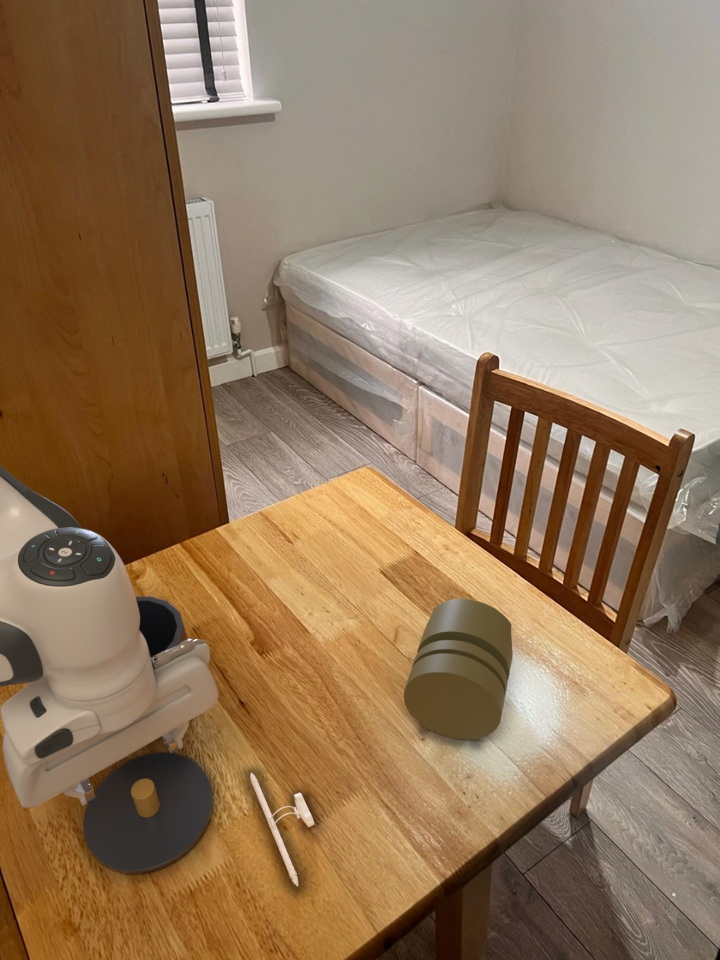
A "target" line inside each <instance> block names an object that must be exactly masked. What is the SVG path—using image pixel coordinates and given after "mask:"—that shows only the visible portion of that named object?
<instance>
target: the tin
mask: <svg viewBox="0 0 720 960" xmlns="http://www.w3.org/2000/svg"><path fill="white" fill-rule="evenodd" d="M135 597H136V601H137V605H138V609H139V614H140V626H139V631H140V632H141V633H142V634H143V636H144V638H145V640H146V643H147V645H148V650H149V654H150V657H152V656H154V655H156V654H158V653H160V652H162V651H165V650H167V649H170V648H172V647H175V646H176V645H178V644H179V643H180V642H182V641H184V640H187V639H188V638H187V633H186V629H185V625H184V620H183V618H182V614H181V612H180V610H178V608H176V606H174V605H173V604H172V603H171V602H169V600H164V599H162V598H159V597H155V596H151V595H148V596H147V595H145V596H135Z"/></svg>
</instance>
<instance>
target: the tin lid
mask: <svg viewBox="0 0 720 960" xmlns="http://www.w3.org/2000/svg"><path fill="white" fill-rule="evenodd" d="M94 792H95V795H96V797H97V798H95V799H94V800H92V801H90V802H88V803H87V804H86V805H87V806H86V808H85V812H84V815H83V824H82V825H83V835H84V840H85V843H86V845H87V846H86V847H87V848H88V850H89V852H90V854H91V855H92V856H93V858H95V860H96V861H97V862H99V863H100V864H101V865H102V866H105V868H107V869H110V870H112V871H114V872H118V873H123V874H133V875H134V874H144V873H149V872H153V871H156V870H159V869H162V868H165V867H167V866H169V865H171V864H172V863H174V862H176V861H177V860H179V859H180V858H181V857H183V856H184V855H185V854H186V853H188V851H189V850H191V849H192V848H193V847H194V845H195V844H196V843H197V842H198V841H199V840H200V838H201V836H202V835H203V833H204V832H205V831H206V828H207V826H208V824H209V822H210V819H211V817H212V816H211V815H212V812H213V805H214V804H213V803H214V796H213V794H214V793H213V789H212V784H211V782H210V778H209V777H208V775H207V773H206V772H205V770H204V769H203V768H202V767H201V766H200V765H199V764H198V763H197V762H196V761H194V760H193V759H191V758H189V757H187V756H185V755H182V754H179V753H176V752H174V753H172V754H170V753H169V752H164V751H163V752H153V753H147V754H144V755H140V756H137V757H135V758H131V759H130V760H128V761H126V762H124V763H122V764H121V765H119V766H118V767H116V768H115V769H114V770H112V771H111V772H110V773H109V774H107V776H106V777H105V778H104V779H103V780H102V781H101V782H100V783H99V784H98V786H97V787H96V788H95V789H94Z"/></svg>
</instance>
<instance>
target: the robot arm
mask: <svg viewBox="0 0 720 960" xmlns="http://www.w3.org/2000/svg"><path fill="white" fill-rule="evenodd" d="M132 584H133V583H132V581H131V579H130V575H129V573H128V571H127V569H126V565H125V564H124V562H123V560H122V558H121V557H120V555H119V554H118V552H117V550H116V549H115V548H114V546H112V545H111V543H110V542H109V541H108V540H107V539H105V538H104V537H103V536H102V535H100V534H99V533H97V532H94V531H93V530H89V529H86V528H82V526H81V525H80V523H79V522H78V520H77V519H76V518H75V517H74V516H73V515H72V514H71V513H70V512H69V511H67V510H66V509H65V508H63V507H62V506H60V505H58V504H57V503H55V502H54V501H52V500H50V499H48V498H47V497H45V496H43V495H41V494H39V493H37V492H36V491H34V490H32V489H31V488H30V487H28V486H27V485H26V484H24V483H23V482H21V481H20V480H18V479H17V478H16V477H15V476H14V475H12V474H11V473H10V472H9V471H7V470H6V469H5V468H4V467H2V466H1V465H0V687H7V686H14V685H21V684H23V685H24V684H27V685H25V686H24V687H23V688H21V689H20V690H19V691H18V692H16V693H15V694H13V695H12V696H11V697H10V698H8V699H7V700H6V701H5V702H4V703H3V704H1V706H0V717H1V721H2V724H3V727H4V731H5V733H4V735H3V736H4V737H3V741H2V751H3V758H4V763H5V767H6V770H7V773H8V777H9V779H10V782H11V785H12V787H13V790H14V793H15V795H16V796H17V799H18V801H19V803H20V806H21V807H22V808H26V809H36V808H38V807H40V806H42V805H43V804H45V803H47V802H49V801H50V800H52V799H54V798H55V797H58V796H60V795H61V794H63V795H64V796H66V797H70V798H75V799H78V801H79V802H80V804H81V806H82V807H84V806H86V805H88V803H89V802H90V801H92V800H94V799H95V798H97V797H96V795H95V792H94V791H95V789H94V787H93V785H92V784H91V781H90V778H91V777H92V776H94V775H96V774H98V773H100V772H102V771H103V770H105V769H107V768H108V767H110V766H112V765H114V764H116V763H118V762H119V761H121V760H123V759H124V758H127V757H128V756H130V755H132V754H133V753H135V752H137V751H138V750H140V749H142V748H144V747H145V746H147V745H149V744H151V743H153V742H154V741H156V740H158V739H160V738H161V739H162V743H163V745H164V747H165V749H166V750H167V751H168V752H167V753H170V754H172V753H176V752H178V751H180V750H181V749H183V748H184V743H183V738H184V736H185V734H186V732H187V730H188V728H189V725H190V721H191V720H193V719H195V718H196V717H198V716H200V715H202V714H204V713H205V712H207V711H210V710H211V709H212V708H213V707H214V706H215V705H216V703H217V701H218V699H219V690H218V687H217V683H216V681H215V678H214V675H213V674H212V671H211V670H210V668H209V667H208V665H209V663H210V661H211V651H210V646H209V644H208V642H207V641H206V640H205V639H202V638H199V639H197V638H195V639H193V638H187V640H184V641H182V642H180V643H179V644H178V645H176V646H175V647H172V648H170V649H167V650H165V651H162V652H160V653H158V654H156V655H154V656H152V657H150V654H149V650H148V645H147V643H146V640H145V638H144V636H143V634H142V633H141V632H140V631H139V626H140V614H139V609H138V605H137V601H136V597H137V596H136V594H135V590H134V587H133V585H132Z"/></svg>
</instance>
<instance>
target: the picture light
mask: <svg viewBox="0 0 720 960" xmlns="http://www.w3.org/2000/svg"><path fill="white" fill-rule="evenodd" d="M249 774H250V776H249V777H250V783H251V785H252V787H253V789H254V792H255V794H256V797H257V799H258V802H259V804H260V807H261V809H262V812H263V813H264V816H265V818H266V821H267V823H268V826H269V828H270V831H271V833H272V835H273V838H274V840H275V843H276V845H277V848H278V850H279V853H280V855H281V858H282V860H283V862H284V865H285V867H286V870H287V872H288V876H289V878H290V879H291V882H292V883H293V884H294V886H295V887H299V885H300V884H299V878H298V873H297V871H296V870H295V867H294V864H293V863H292V860H291V857H290V855H289V852H288V850H287V848H286V846H285V844H284V840H283V838H282V836H281V834H280V831H279V829H278V827H277V824H276V823H277V822H278V821H280V819H282V818H283V817H285V816H287V815H295V816H296V818H297V820H300V819H301V820H302V821H303V823H304V824H305V825H306V826H307V828H310V827H313V826H315V821H314V818H313V815H312V813H311V812H310V809H309V807H308V804H307V803H306V801H305V798H304V796H303V794H302V793H301V792H298V793H295V794H294V795H293V798H294V803H295V806H292V805H285V806H282V807H280V808H278V809H277V810H276V811H275V812H274V813H273V814H272V812H271V810H270V807H269V805H268V803H267V801H266V797H265V795H264V793H263V791H262V788H261V786H260V784H259V780H258V778H257V777H256V775H255V774H254V773H253V772H250V773H249ZM285 808H291V809H293V812H287V813H284V814H283V815H281V816H280V817H278V818H277V819H276V820H274V816H275V815H276V814H277V813H279V811H281V810H284V809H285Z"/></svg>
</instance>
